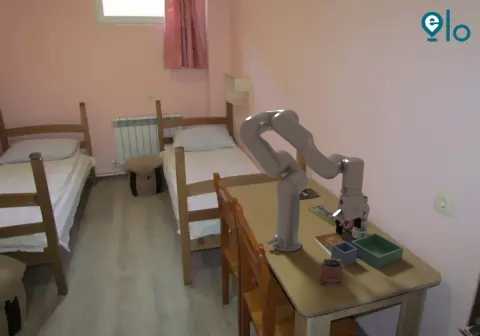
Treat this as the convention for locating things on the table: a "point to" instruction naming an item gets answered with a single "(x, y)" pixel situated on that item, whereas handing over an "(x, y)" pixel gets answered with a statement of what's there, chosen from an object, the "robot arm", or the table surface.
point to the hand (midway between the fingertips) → (348, 230)
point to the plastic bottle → (362, 223)
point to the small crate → (344, 253)
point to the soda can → (348, 224)
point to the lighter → (331, 272)
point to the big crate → (377, 250)
